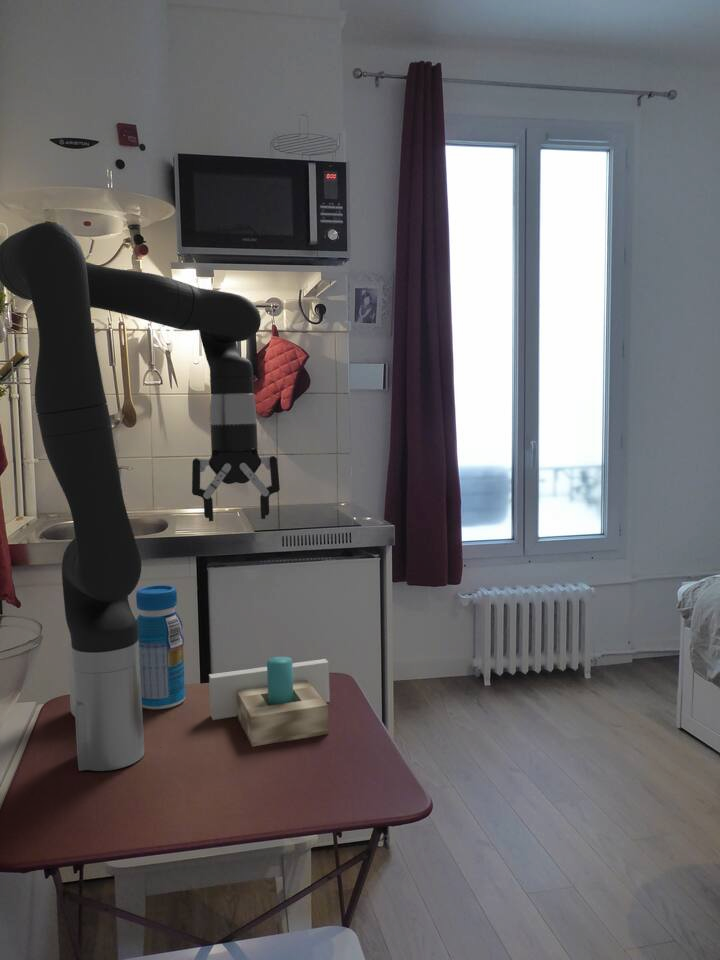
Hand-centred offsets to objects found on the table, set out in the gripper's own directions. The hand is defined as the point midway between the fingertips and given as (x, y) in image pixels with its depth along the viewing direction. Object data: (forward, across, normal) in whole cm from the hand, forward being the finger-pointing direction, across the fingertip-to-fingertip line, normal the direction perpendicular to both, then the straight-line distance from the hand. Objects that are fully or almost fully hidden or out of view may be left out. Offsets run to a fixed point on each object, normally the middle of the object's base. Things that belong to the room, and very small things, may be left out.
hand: (237, 519), depth 131 cm
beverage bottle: (+32, -14, +6) cm, 36 cm away
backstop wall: (+32, +4, -2) cm, 32 cm away
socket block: (+32, +6, -9) cm, 34 cm away
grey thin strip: (+32, -25, +4) cm, 41 cm away
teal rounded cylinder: (+32, +6, -9) cm, 33 cm away
